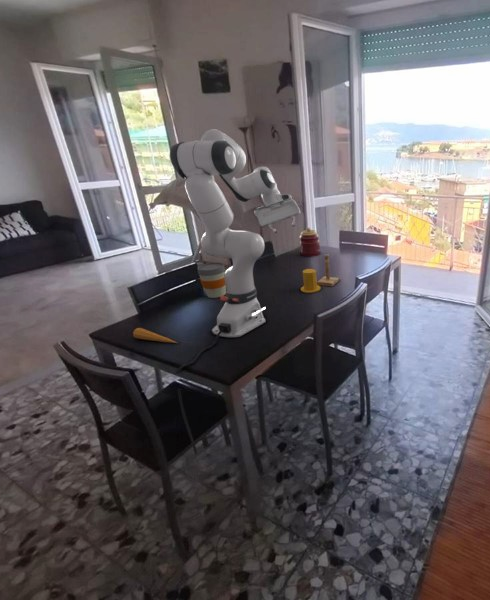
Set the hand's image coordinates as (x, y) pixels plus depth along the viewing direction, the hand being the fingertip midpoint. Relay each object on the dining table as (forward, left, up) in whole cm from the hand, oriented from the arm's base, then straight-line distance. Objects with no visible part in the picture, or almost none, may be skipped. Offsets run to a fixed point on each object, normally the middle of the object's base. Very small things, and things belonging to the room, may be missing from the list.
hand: (284, 229), depth 170 cm
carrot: (-61, +25, -32) cm, 73 cm away
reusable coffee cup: (-16, +34, -32) cm, 49 cm away
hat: (+4, -9, -32) cm, 33 cm away
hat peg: (+15, -14, -32) cm, 38 cm away
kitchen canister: (+60, +20, -32) cm, 71 cm away
